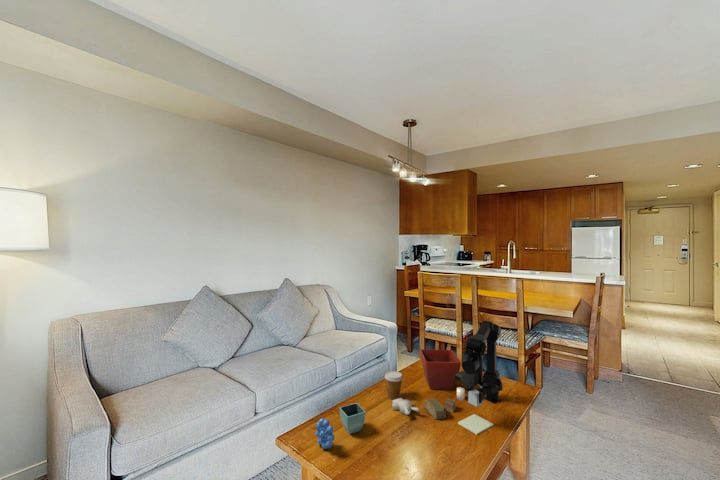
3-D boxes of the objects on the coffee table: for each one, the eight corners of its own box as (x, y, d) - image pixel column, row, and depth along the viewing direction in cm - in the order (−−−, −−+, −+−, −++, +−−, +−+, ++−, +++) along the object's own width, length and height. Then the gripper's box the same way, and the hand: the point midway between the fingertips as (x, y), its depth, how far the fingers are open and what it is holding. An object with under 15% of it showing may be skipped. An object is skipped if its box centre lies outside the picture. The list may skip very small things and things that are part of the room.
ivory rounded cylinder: (459, 395, 173) (459, 386, 173) (466, 399, 170) (466, 389, 170) (454, 398, 171) (455, 388, 171) (461, 401, 167) (461, 391, 167)
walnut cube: (447, 406, 162) (447, 398, 162) (455, 408, 160) (455, 400, 160) (444, 410, 159) (444, 401, 159) (452, 412, 157) (453, 404, 157)
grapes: (342, 451, 128) (342, 420, 128) (328, 458, 124) (328, 427, 123) (325, 437, 137) (325, 408, 137) (311, 443, 132) (311, 414, 132)
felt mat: (474, 415, 154) (474, 414, 154) (493, 425, 146) (493, 424, 146) (457, 423, 147) (457, 422, 147) (476, 434, 139) (476, 433, 139)
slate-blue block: (474, 399, 150) (474, 388, 150) (482, 403, 146) (483, 392, 146) (468, 402, 147) (468, 391, 147) (476, 406, 143) (476, 395, 143)
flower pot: (347, 438, 136) (347, 417, 136) (338, 427, 144) (339, 407, 144) (365, 432, 140) (366, 411, 140) (356, 422, 148) (356, 402, 148)
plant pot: (461, 393, 176) (461, 362, 176) (425, 392, 176) (425, 361, 176) (451, 377, 195) (451, 349, 195) (419, 377, 196) (419, 349, 195)
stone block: (436, 421, 149) (436, 410, 149) (424, 408, 160) (424, 398, 160) (447, 419, 151) (447, 408, 151) (434, 406, 162) (434, 396, 162)
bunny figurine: (402, 394, 167) (421, 403, 153) (403, 404, 166) (422, 415, 153) (387, 398, 162) (405, 408, 149) (387, 409, 162) (405, 420, 148)
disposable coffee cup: (403, 401, 166) (403, 378, 166) (384, 401, 167) (385, 378, 167) (401, 392, 176) (401, 370, 176) (383, 392, 176) (384, 370, 176)
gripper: (447, 363, 149) (447, 397, 150) (483, 378, 134) (483, 415, 134) (463, 358, 156) (462, 390, 156) (499, 371, 140) (498, 407, 141)
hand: (475, 400), depth 147 cm, fingers closed on slate-blue block, 4 cm apart
